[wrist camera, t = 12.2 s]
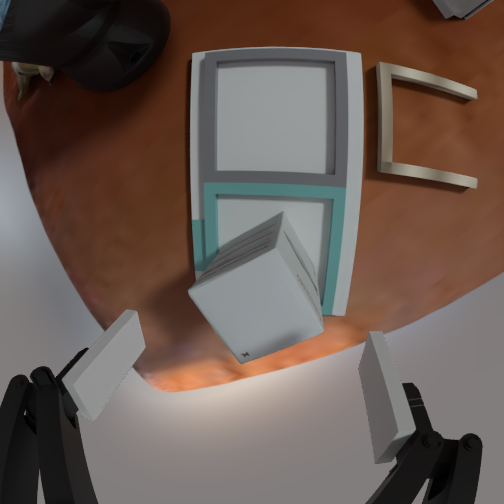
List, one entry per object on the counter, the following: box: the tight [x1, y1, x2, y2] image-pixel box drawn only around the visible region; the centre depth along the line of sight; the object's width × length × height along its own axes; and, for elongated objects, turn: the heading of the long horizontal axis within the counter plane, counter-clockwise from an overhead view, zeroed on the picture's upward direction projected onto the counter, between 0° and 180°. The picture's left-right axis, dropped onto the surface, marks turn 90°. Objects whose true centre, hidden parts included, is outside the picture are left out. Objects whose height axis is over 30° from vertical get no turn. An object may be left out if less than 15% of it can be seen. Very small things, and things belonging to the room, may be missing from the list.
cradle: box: [376, 62, 477, 189], centre depth 23 cm, size 13×12×2 cm
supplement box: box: [188, 211, 324, 364], centre depth 25 cm, size 7×7×13 cm
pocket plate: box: [190, 47, 364, 316], centre depth 28 cm, size 18×30×2 cm, turn 179°
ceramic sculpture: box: [12, 62, 57, 101], centre depth 22 cm, size 11×9×15 cm
